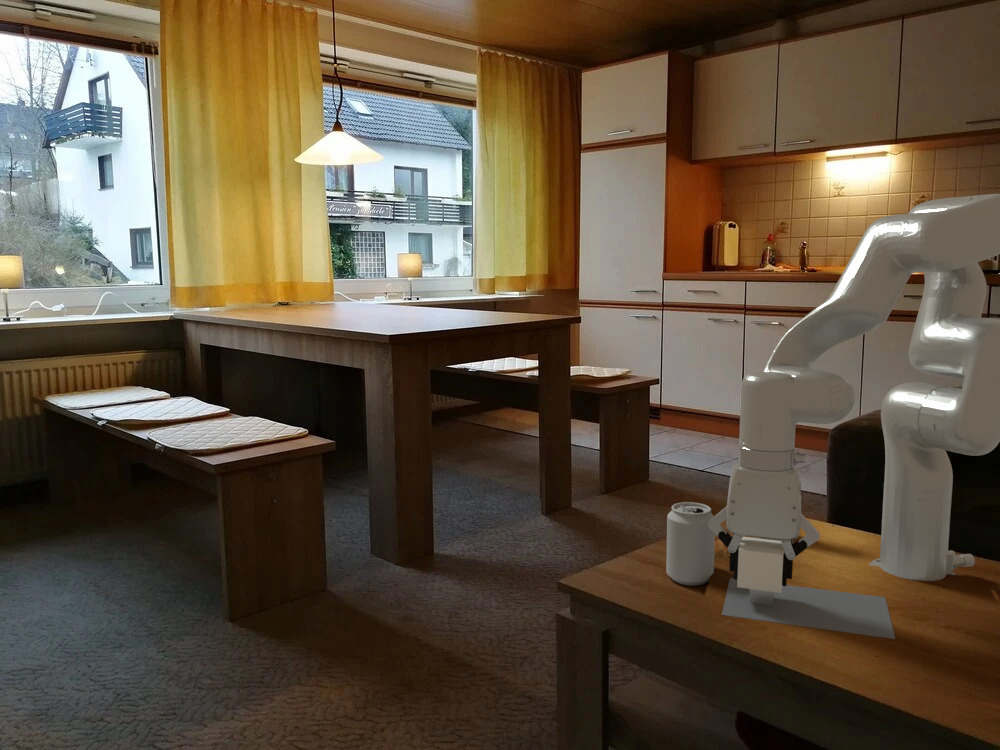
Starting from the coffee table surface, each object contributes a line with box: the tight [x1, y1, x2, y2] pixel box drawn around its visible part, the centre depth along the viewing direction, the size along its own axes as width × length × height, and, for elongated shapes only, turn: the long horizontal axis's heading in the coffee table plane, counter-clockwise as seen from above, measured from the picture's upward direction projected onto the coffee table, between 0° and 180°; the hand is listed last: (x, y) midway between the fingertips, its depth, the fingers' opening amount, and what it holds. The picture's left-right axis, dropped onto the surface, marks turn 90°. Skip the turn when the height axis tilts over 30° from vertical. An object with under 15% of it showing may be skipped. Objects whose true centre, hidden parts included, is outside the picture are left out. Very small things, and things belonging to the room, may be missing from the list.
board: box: [721, 577, 896, 640], centre depth 114 cm, size 22×14×2 cm, turn 69°
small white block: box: [749, 589, 773, 606], centre depth 115 cm, size 3×3×4 cm
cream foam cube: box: [737, 536, 784, 593], centre depth 115 cm, size 6×6×6 cm
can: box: [665, 501, 716, 586], centre depth 127 cm, size 8×8×12 cm
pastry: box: [714, 539, 740, 563], centre depth 136 cm, size 9×7×4 cm
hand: (760, 578), depth 115 cm, fingers closed on cream foam cube, 5 cm apart
